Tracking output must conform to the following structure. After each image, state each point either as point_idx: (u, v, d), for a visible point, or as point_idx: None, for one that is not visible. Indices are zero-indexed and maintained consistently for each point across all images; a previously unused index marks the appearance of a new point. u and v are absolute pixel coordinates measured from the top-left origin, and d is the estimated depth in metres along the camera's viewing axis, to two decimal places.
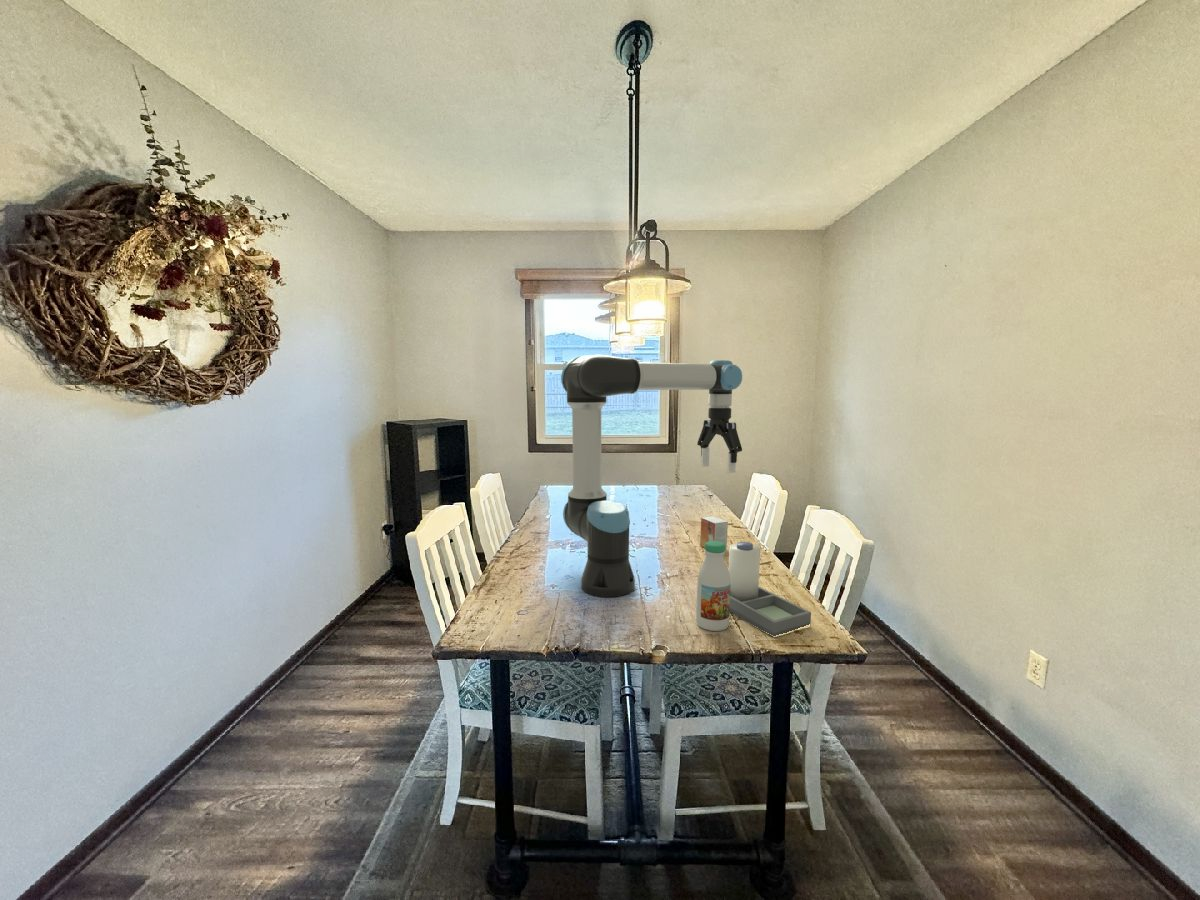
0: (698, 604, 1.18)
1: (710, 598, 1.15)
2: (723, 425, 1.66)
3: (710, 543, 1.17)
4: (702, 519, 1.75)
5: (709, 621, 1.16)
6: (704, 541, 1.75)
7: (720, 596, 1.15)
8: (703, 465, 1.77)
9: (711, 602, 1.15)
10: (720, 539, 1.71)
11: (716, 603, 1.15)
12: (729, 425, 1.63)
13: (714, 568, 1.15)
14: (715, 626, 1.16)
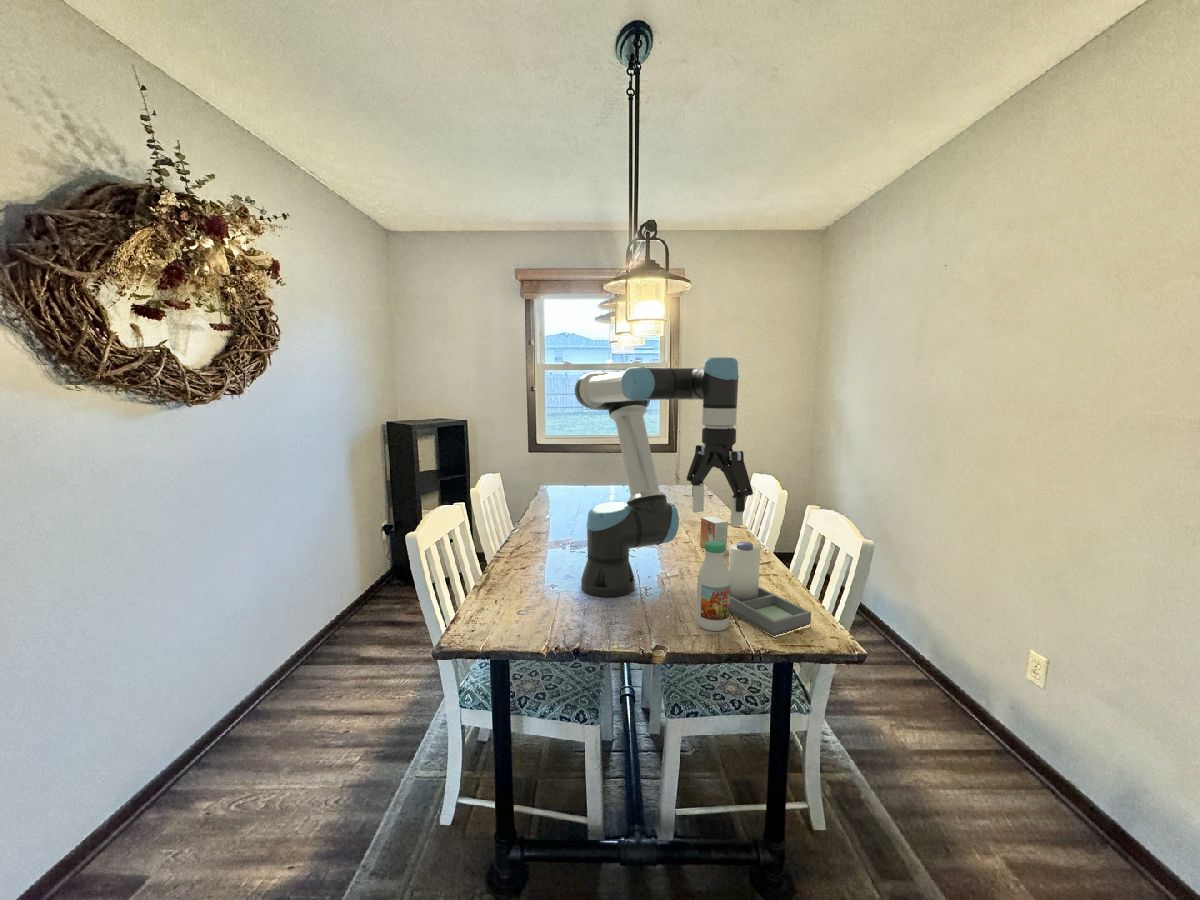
0: (698, 604, 1.18)
1: (710, 598, 1.15)
2: (724, 454, 1.11)
3: (710, 543, 1.17)
4: (702, 519, 1.75)
5: (709, 621, 1.16)
6: (704, 541, 1.75)
7: (720, 596, 1.15)
8: (695, 510, 1.22)
9: (711, 602, 1.15)
10: (720, 539, 1.71)
11: (715, 603, 1.15)
12: (733, 455, 1.08)
13: (714, 568, 1.15)
14: (715, 626, 1.16)
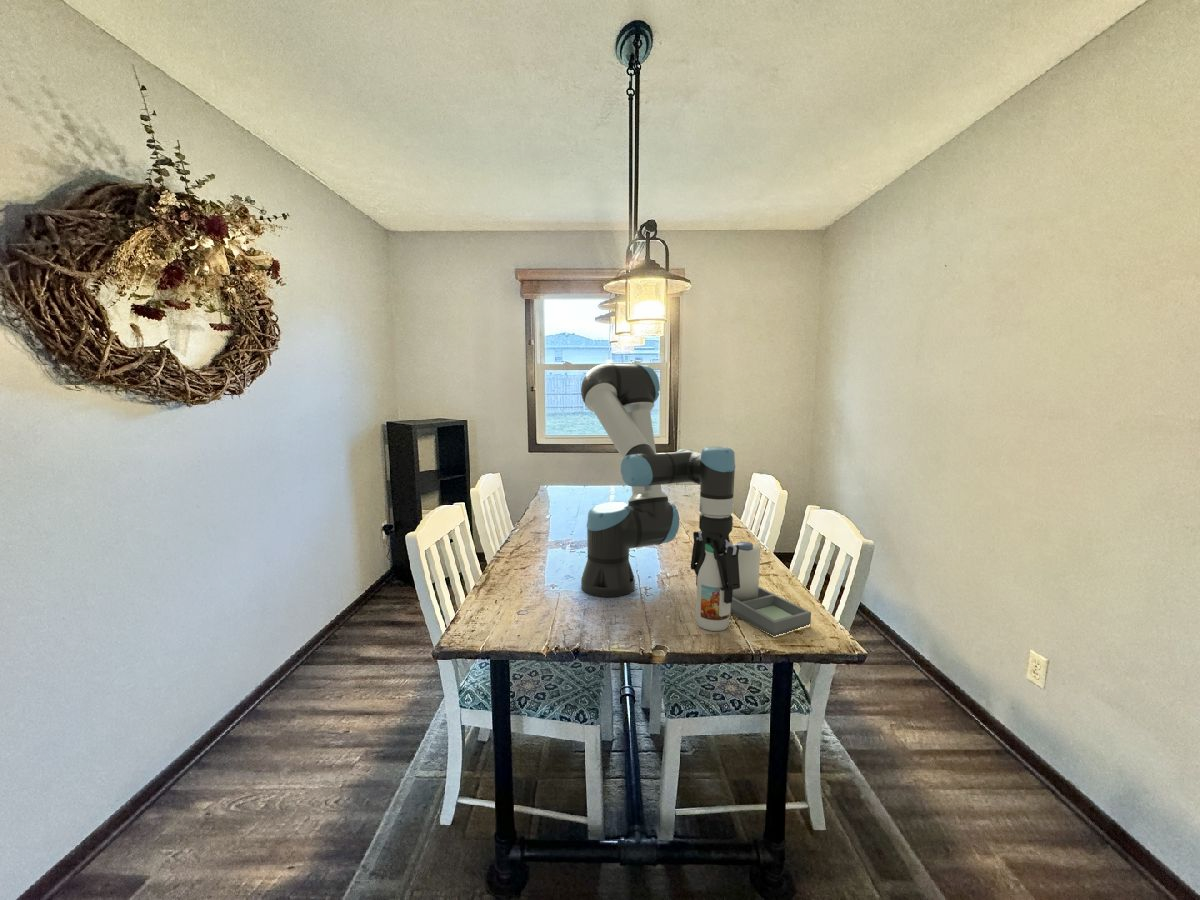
0: (698, 604, 1.18)
1: (710, 598, 1.15)
2: (720, 543, 1.14)
3: None
4: None
5: (709, 621, 1.16)
6: None
7: None
8: None
9: (711, 602, 1.15)
10: None
11: (715, 603, 1.15)
12: (729, 550, 1.11)
13: (714, 568, 1.15)
14: (715, 626, 1.16)
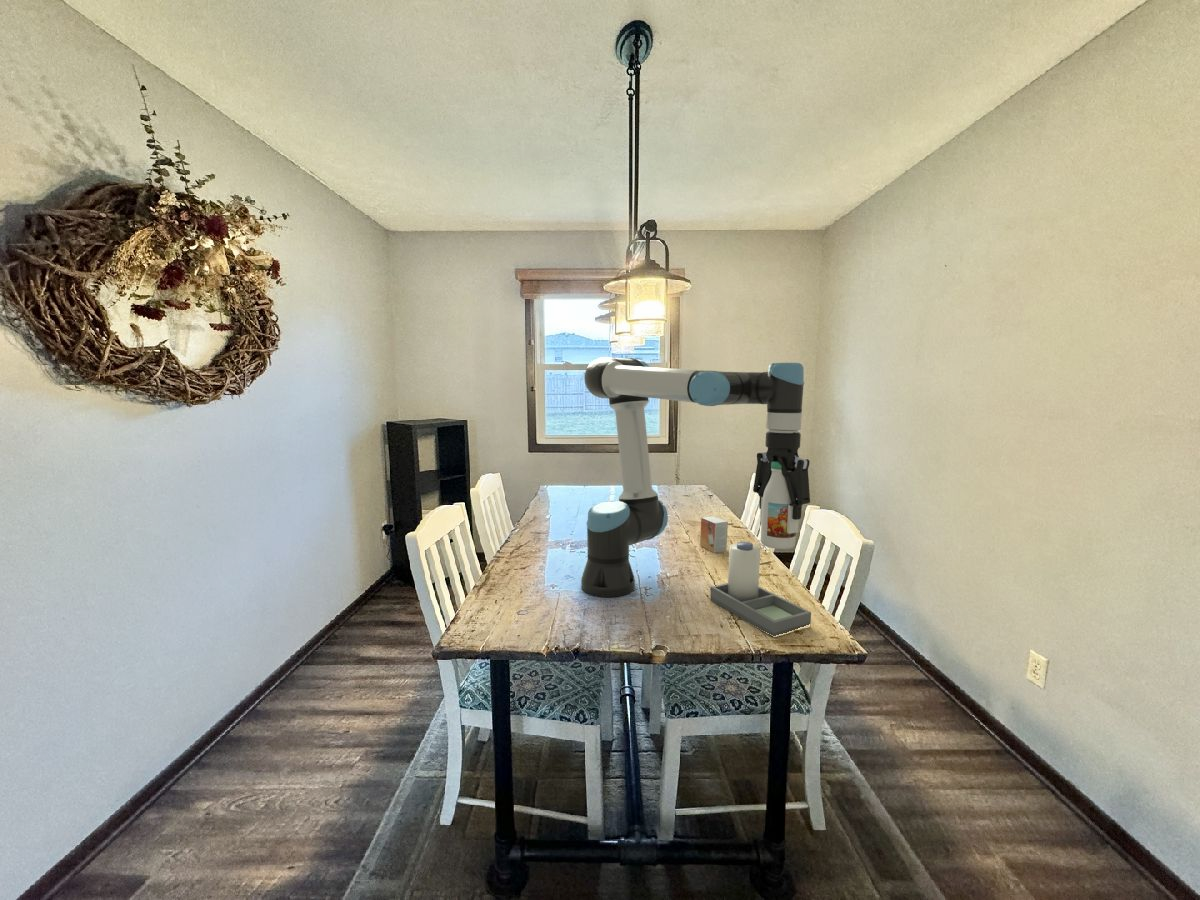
0: (764, 523, 1.17)
1: (777, 515, 1.14)
2: (789, 459, 1.12)
3: (777, 461, 1.16)
4: (702, 519, 1.75)
5: (776, 539, 1.15)
6: (704, 541, 1.75)
7: None
8: None
9: (779, 519, 1.14)
10: (720, 539, 1.71)
11: (783, 520, 1.14)
12: (799, 464, 1.10)
13: (782, 485, 1.14)
14: (782, 544, 1.15)
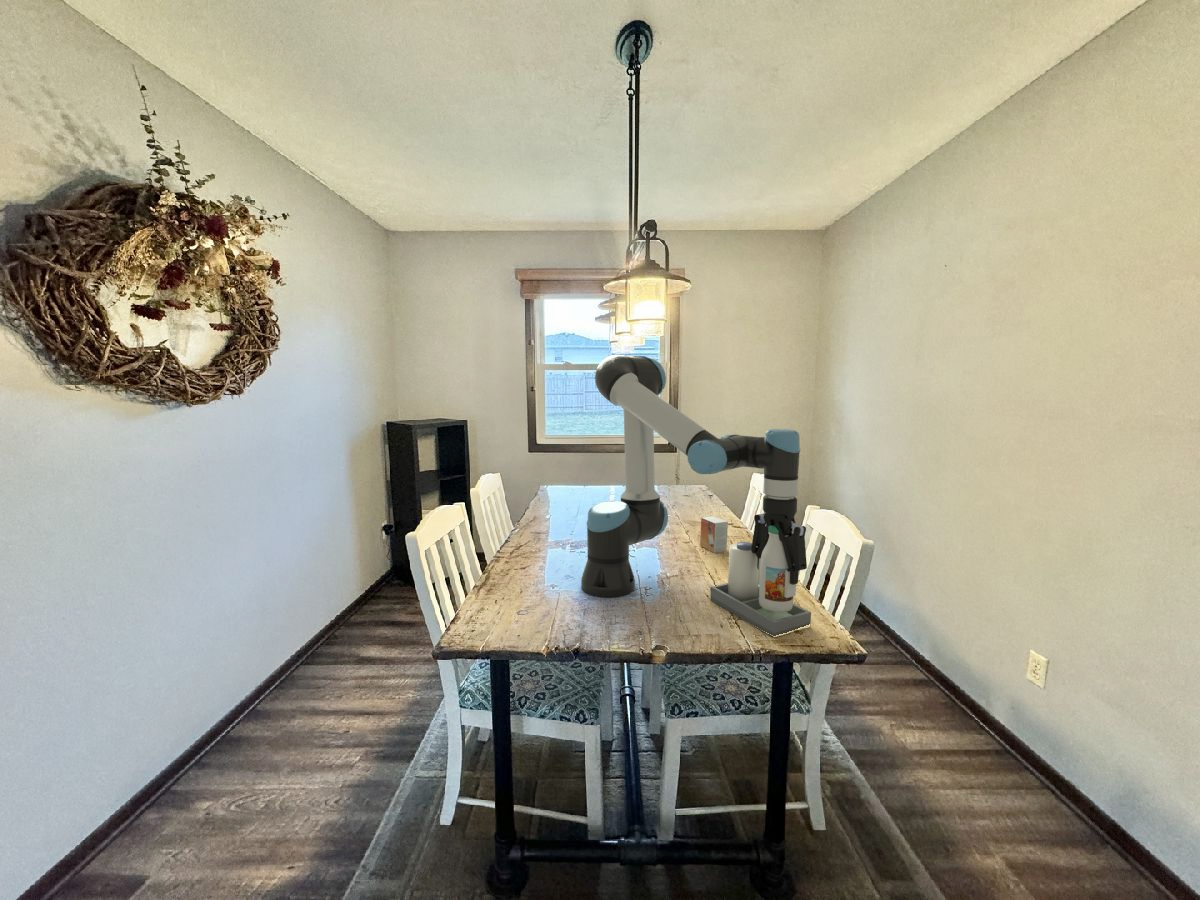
0: (762, 586, 1.19)
1: (775, 579, 1.16)
2: (786, 525, 1.14)
3: None
4: (702, 519, 1.75)
5: (774, 602, 1.17)
6: (704, 541, 1.75)
7: None
8: None
9: (776, 583, 1.16)
10: (720, 539, 1.71)
11: (781, 584, 1.16)
12: (796, 531, 1.12)
13: (779, 549, 1.16)
14: (780, 607, 1.16)
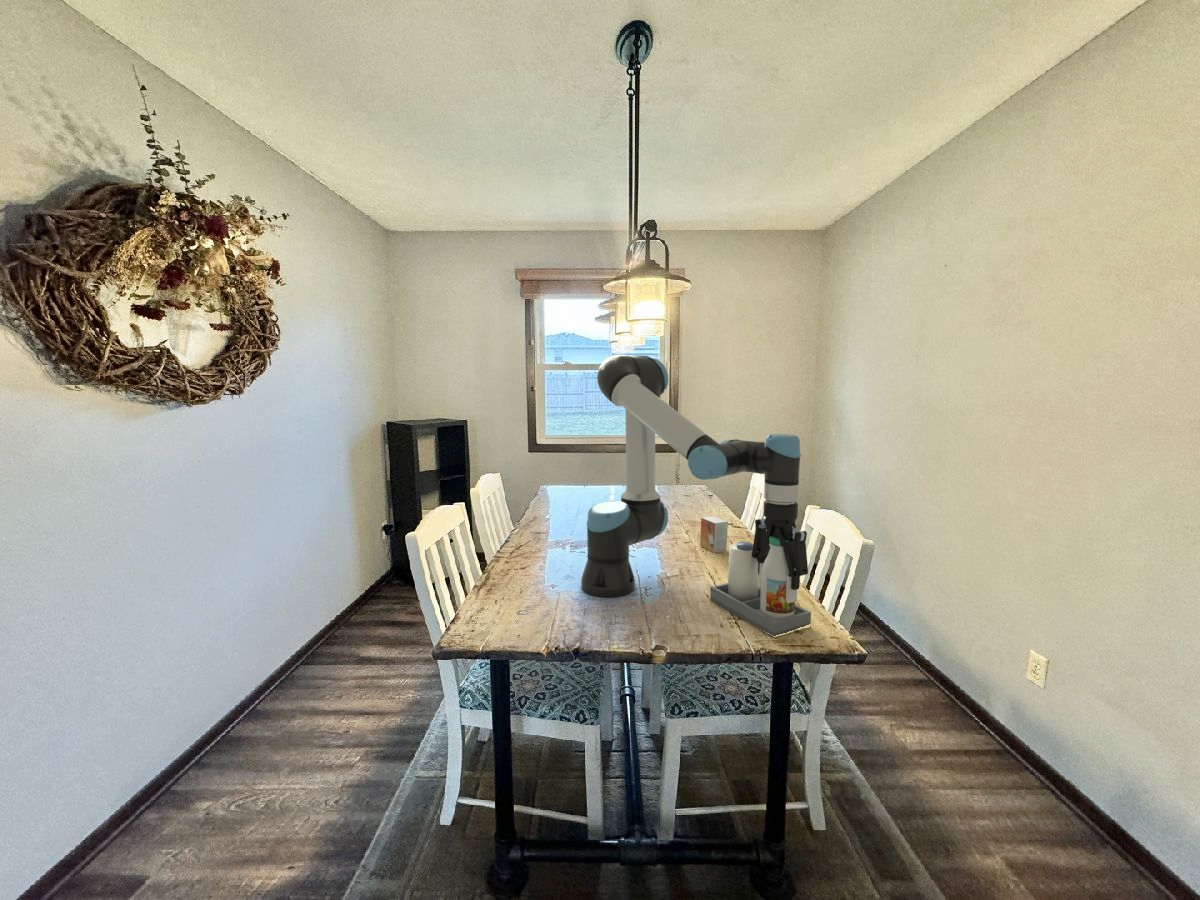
0: (763, 598, 1.19)
1: (776, 591, 1.16)
2: (787, 530, 1.14)
3: (775, 537, 1.18)
4: (702, 519, 1.75)
5: (775, 614, 1.17)
6: (704, 541, 1.75)
7: None
8: None
9: (777, 595, 1.16)
10: (720, 539, 1.71)
11: (782, 596, 1.16)
12: (797, 536, 1.12)
13: (780, 561, 1.16)
14: None
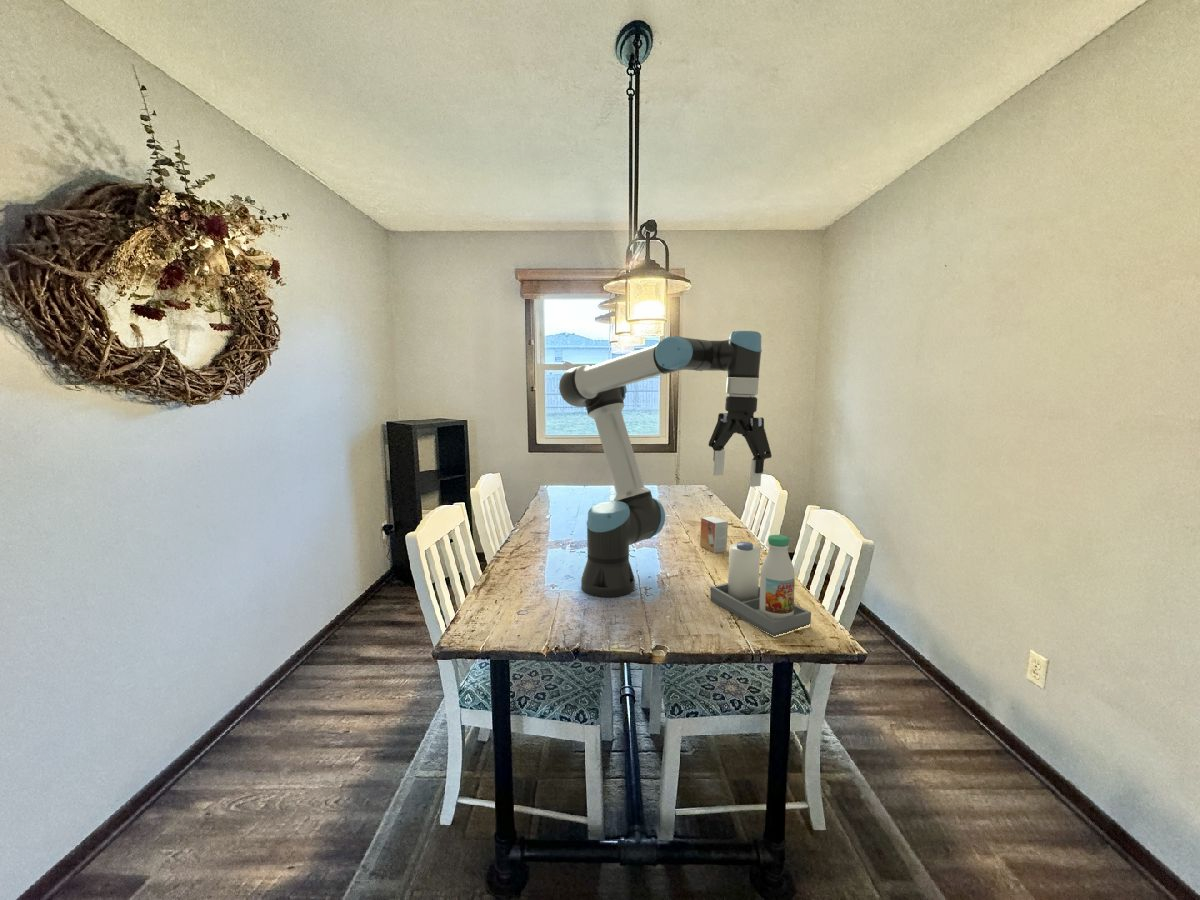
0: (762, 598, 1.19)
1: (775, 591, 1.16)
2: (746, 421, 1.21)
3: (773, 537, 1.18)
4: (702, 519, 1.75)
5: (774, 614, 1.17)
6: (704, 541, 1.75)
7: (785, 589, 1.15)
8: (716, 474, 1.32)
9: (776, 595, 1.16)
10: (720, 539, 1.71)
11: (781, 596, 1.16)
12: (754, 421, 1.18)
13: (779, 561, 1.16)
14: None
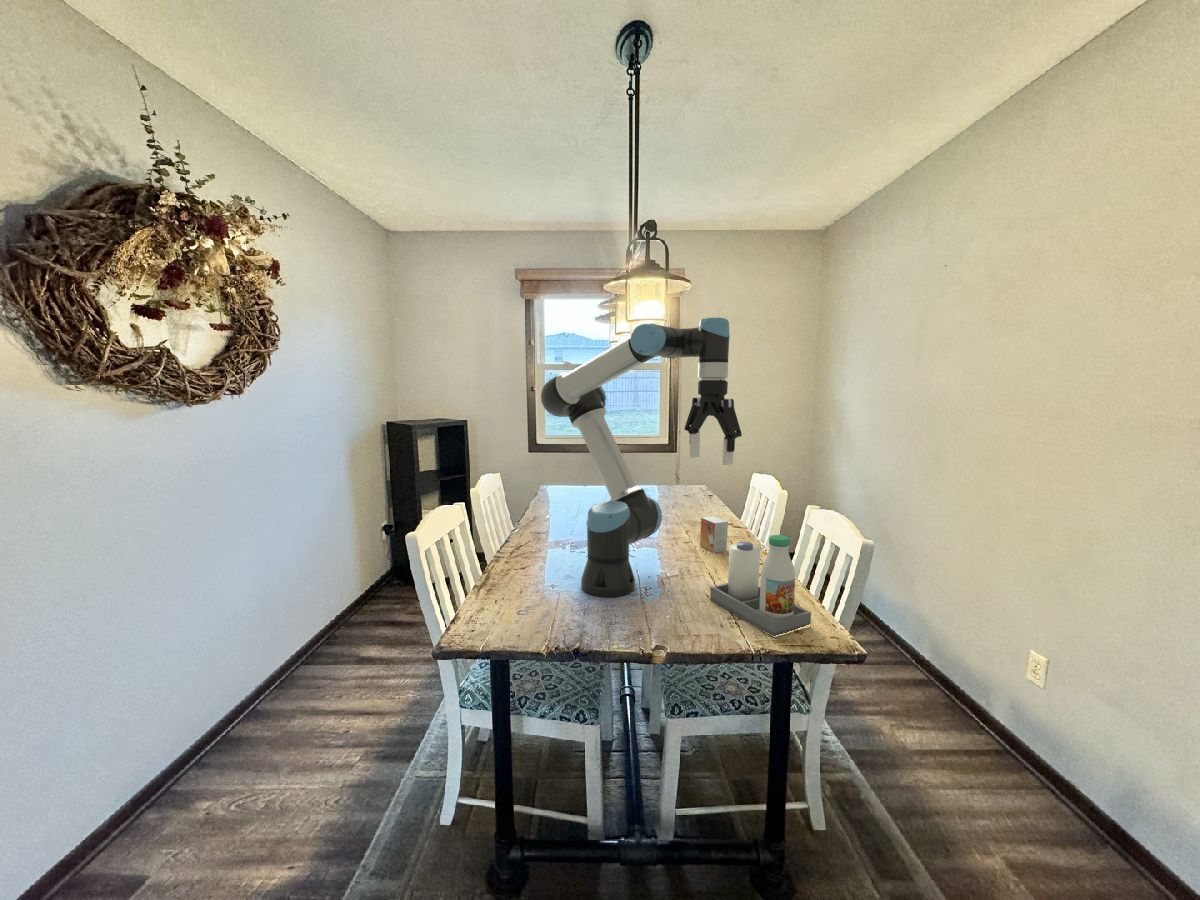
0: (762, 598, 1.19)
1: (775, 592, 1.16)
2: (717, 403, 1.27)
3: (774, 537, 1.18)
4: (702, 519, 1.75)
5: (774, 614, 1.17)
6: (704, 541, 1.75)
7: (786, 590, 1.15)
8: (692, 456, 1.38)
9: (777, 596, 1.16)
10: (720, 539, 1.71)
11: (781, 596, 1.15)
12: (725, 402, 1.25)
13: (779, 562, 1.16)
14: None
